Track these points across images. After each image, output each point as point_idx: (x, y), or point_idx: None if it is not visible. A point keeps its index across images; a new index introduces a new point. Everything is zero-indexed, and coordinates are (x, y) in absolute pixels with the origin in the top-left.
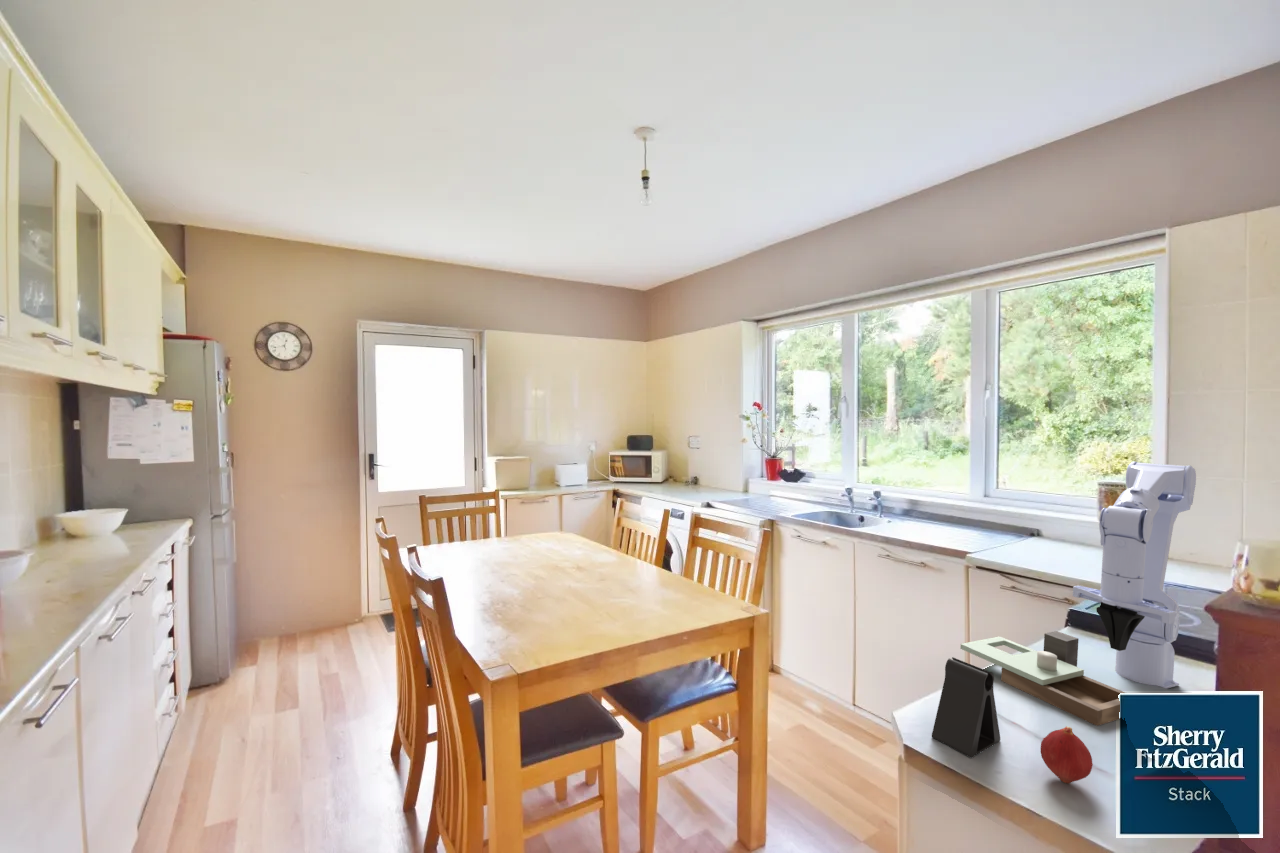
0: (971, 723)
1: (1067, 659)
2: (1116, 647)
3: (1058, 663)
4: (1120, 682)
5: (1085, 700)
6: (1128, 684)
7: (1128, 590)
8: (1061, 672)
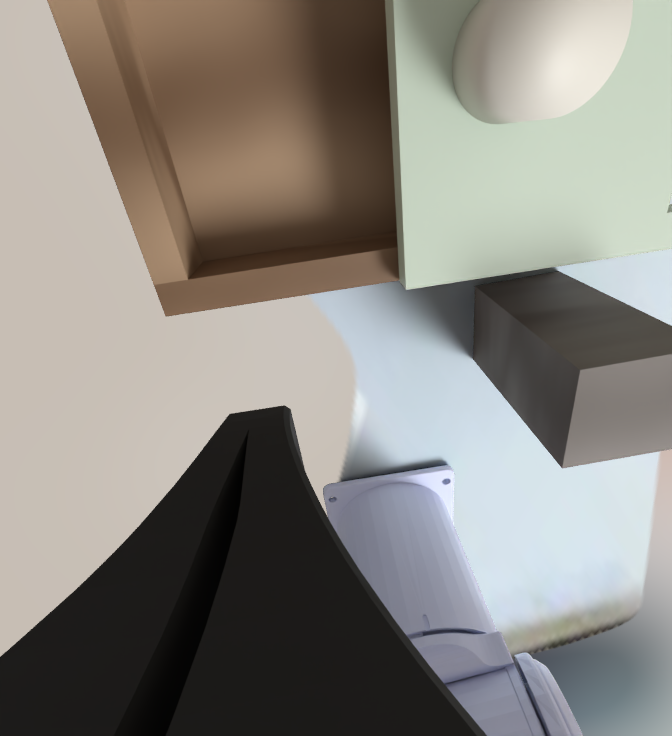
0: None
1: (517, 337)
2: (236, 419)
3: (506, 218)
4: (401, 465)
5: (300, 153)
6: (385, 474)
7: None
8: (423, 94)
